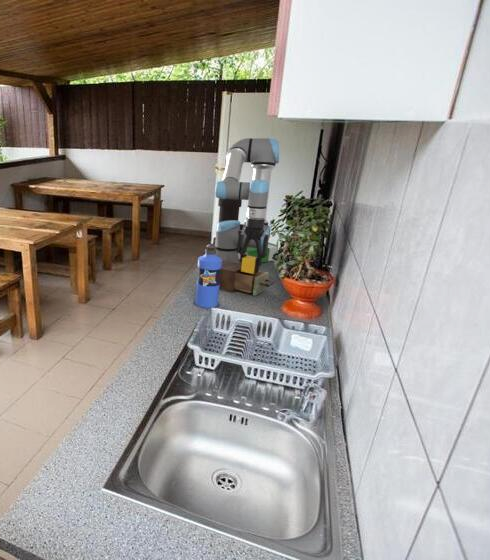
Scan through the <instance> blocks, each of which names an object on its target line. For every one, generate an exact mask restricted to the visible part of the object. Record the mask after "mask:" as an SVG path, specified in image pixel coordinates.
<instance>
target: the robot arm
mask: <svg viewBox="0 0 490 560" xmlns="http://www.w3.org/2000/svg"><path fill="white" fill-rule="evenodd" d="M225 159H226V160H225V161H226V163H225V168H224V173H223V176H222V180H219V181H217V182H215V183H216V184H215V191H214V195H215V198H217V199H219V198H222V199H239V200H242V201H248V202H247V209H246V218H245V220H244V223H241V221H240V220H238V221H236V220H229V221H222V222H220V223H219V222H217V225H216V230H215V237H216V240H215V246H216V248H215V249H216V254H215V255H216V256H218V257H219V258H221V259H222V260H224V261H229V262H234V263H239V264H241V266H242V258H244V257H246V256H247V255H246V254H245V252H246V250H247V247H249V248H256V249H257V255H258V257H257V258H256V262H255V270H254V273H257V272H259V271H260V266H262V263H263V262H262V258H264V257H266V256H267V251H268V242H269V241H270V240H269V239H270V238H271V233H270V234H269V231H270V232H271V229H272V226H271V225H269V221H268V220H267V211H268V203H269V195H270V186H271V180H272V179H271V178H272V172H273V171H272V170H274V169H275V168H276V165H277V164H279V163H280V142H279V140H278V139H277V138H269V137H268V138H264V137H263V138H262V137H261V138H257V137H256V138H254V137H253V138H249V137H246V138H241V139H240V140H238V141H236V142H234V143H233V144H232V145H231V146H230V147H229V148H228V150H227V152H226V156H225ZM244 163H250V168H251V169H252V170H253V171H252V172H253V173H252V179H251V181H250V182H247V181H246V182H245V181H240V180H241V175H242V170H243V165H244ZM242 247H243V248H242ZM262 248H263V251H262ZM238 253H240V259H239V257H238Z"/></svg>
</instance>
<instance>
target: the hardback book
mask: <svg viewBox="0 0 490 560" xmlns="http://www.w3.org/2000/svg"><path fill="white" fill-rule="evenodd" d="M242 248H243V247H242ZM277 250H278V244H275V243H272V242H270V241H268V251H267V256H266V257H264V258H262V263H265V262H272V261H274V260H273V259H272V257H273V254H274V253H275V252H276V251H277ZM262 251H263V248H262ZM245 254H246V255H247V256H252V257H258V255H257V249H256V248H249V247H247V250H246V252H245ZM238 257H239V259H240V253H238Z"/></svg>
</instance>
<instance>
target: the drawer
mask: <svg viewBox="0 0 490 560" xmlns="http://www.w3.org/2000/svg"><path fill="white" fill-rule="evenodd" d="M275 283H276V280H275V279H272V280H269V272H268V271H265V272H263V271H260V270H259V272H257V273H254V274H251V273H246V272H242V271H241V270H240V271H238V272H236V273H235V281H234V289H236V291H240V292H245V293H249V294H252V296H254V297H255V296H258V295H259V294H261V293H263V292H265V290H267V288H269V287H270V286H272V285H274V284H275Z"/></svg>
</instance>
